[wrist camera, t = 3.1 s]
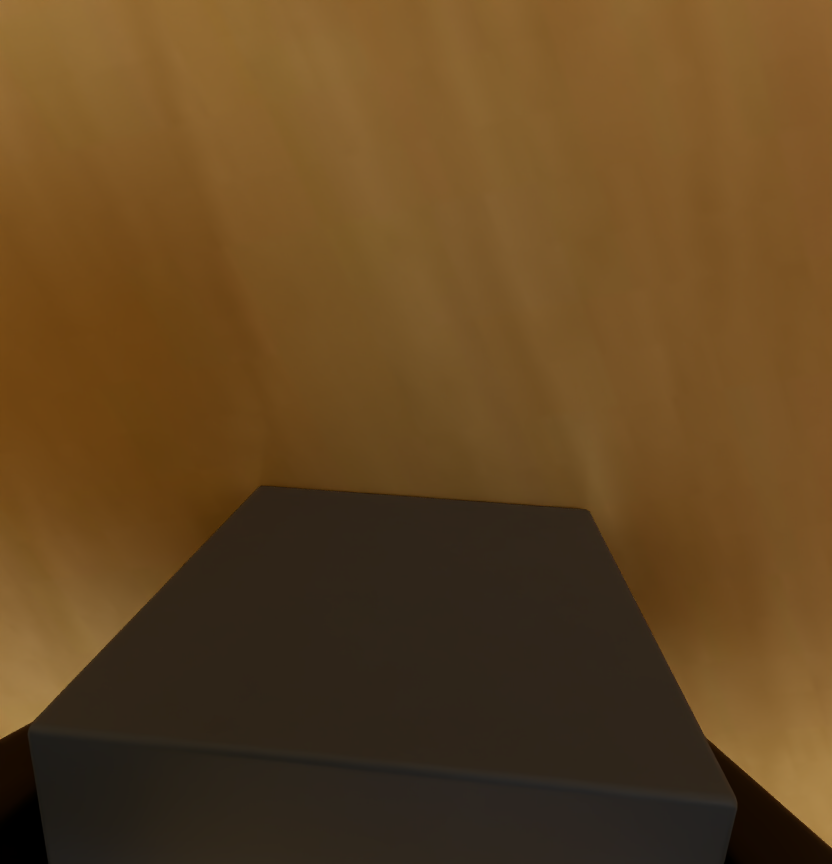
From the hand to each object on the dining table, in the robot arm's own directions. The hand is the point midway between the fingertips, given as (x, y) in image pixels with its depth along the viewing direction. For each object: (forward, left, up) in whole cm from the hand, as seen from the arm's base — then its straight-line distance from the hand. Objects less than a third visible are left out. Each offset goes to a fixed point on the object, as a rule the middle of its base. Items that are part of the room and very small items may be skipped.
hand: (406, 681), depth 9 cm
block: (0, 0, -1) cm, 1 cm away
